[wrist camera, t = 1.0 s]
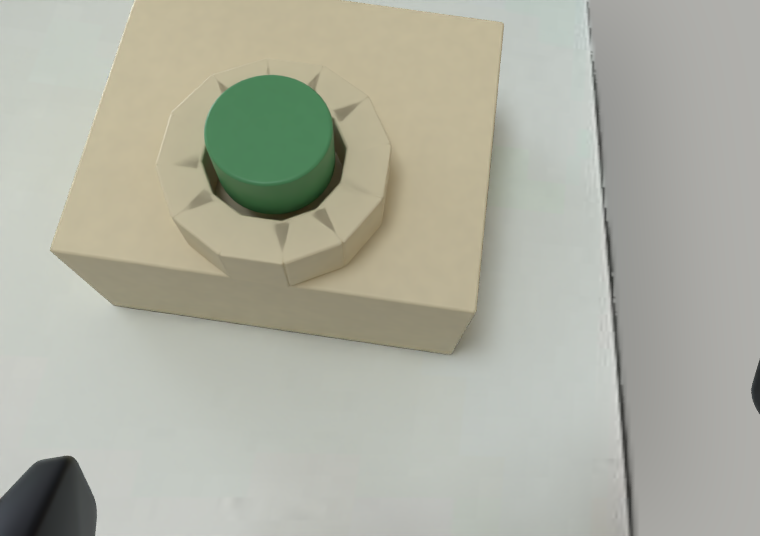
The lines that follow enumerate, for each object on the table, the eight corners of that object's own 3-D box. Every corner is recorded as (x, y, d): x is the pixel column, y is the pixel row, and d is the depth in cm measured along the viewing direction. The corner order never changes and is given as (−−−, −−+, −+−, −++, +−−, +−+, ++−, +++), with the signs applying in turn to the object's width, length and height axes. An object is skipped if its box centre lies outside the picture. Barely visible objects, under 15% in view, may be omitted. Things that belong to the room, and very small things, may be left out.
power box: (451, 356, 23) (488, 294, 17) (111, 306, 23) (16, 226, 17) (478, 111, 27) (517, -20, 20) (181, 69, 27) (125, -74, 20)
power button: (324, 223, 18) (321, 193, 16) (205, 206, 18) (189, 175, 16) (343, 120, 19) (342, 82, 17) (231, 104, 19) (218, 65, 17)
